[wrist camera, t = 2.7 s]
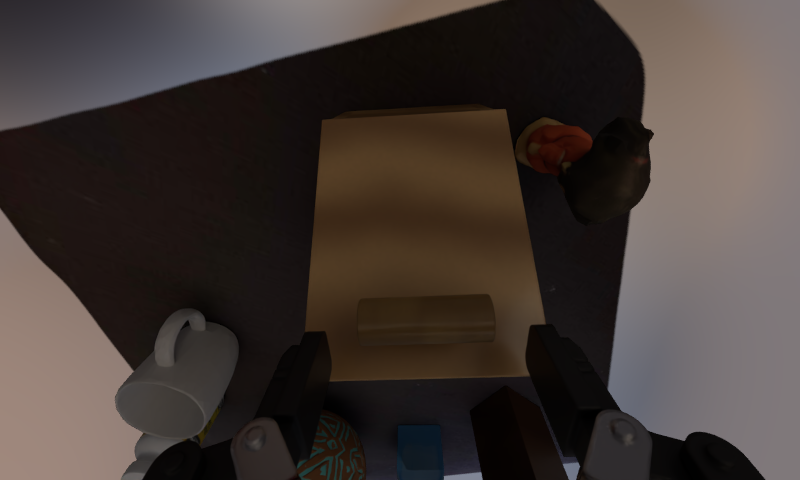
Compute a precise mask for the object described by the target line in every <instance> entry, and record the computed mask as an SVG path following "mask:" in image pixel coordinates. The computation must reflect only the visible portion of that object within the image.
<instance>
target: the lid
mask: <svg viewBox="0 0 800 480" xmlns="http://www.w3.org/2000/svg"><path fill="white" fill-rule="evenodd" d="M538 324H546V322H545V317H544V311H543V306H542V301H541V295H540V290H539V285H538V279H537V274H536V269H535V263H534V258H533V253H532V247H531V242H530V237H529V231H528V226H527V220H526V215H525V210H524V204H523V199H522V194H521V188H520V183H519V178H518V172H517V167H516V162H515V156H514V151H513V146H512V140H511V135H510V130H509V124H508V119H507V114H506V109H497V110H480V111H463V112H446V113H429V114H412V115H395V116H378V117H361V118H344V119H327V120H322V128H321V140H320V152H319V165H318V177H317V189H316V201H315V214H314V226H313V238H312V250H311V263H310V275H309V287H308V299H307V312H306V324H305V332H306V331H325V332H326V335H327V339H328V344H329V349H330V354H331V359H332V371H331V376H330V380H329V381H362V380H402V379H441V378H481V377H521V376H530V374H529V372H528V369H527V366H526V360H525V352H526V346H527V340H528V333H529V328H530V325H538Z"/></svg>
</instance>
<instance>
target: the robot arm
mask: <svg viewBox="0 0 800 480" xmlns="http://www.w3.org/2000/svg"><path fill="white" fill-rule="evenodd" d="M525 360H526V366H527V369H528V372H529V374H530V377H531V379H532V382H533V384H534V386H535V389H536V391H537V394H538V396H539V398H540V401H541V403H542V406H543V408H544V410H545V413H546V415H547V418H548V420H549V422H550V425H551V427H552V430H553V432H554V434H555V437H556V439H557V442H558V444H559V446H560V449H561V451H562V453H563V456H564V457H576V458H577V460H578V463H579V465H580V468H579V472H578V475H577V479H576V480H765V479H764V477H763V476H762V475H761V474H760V473H759V471H758V470H757V469H756V468H755V467H754V466H753V464H752V463H751V462H750V461H749V460H748V458H747V457H746V456H745V455H744V454H743V453H742V452H741V451H740V450H739V449H737V448H736V447H735V446H733V445H732V444H730V443H729V442H727V441H726V440H724V439H722V438H720V437H718V436H715V435H712V434H710V433H705V432H694V433H691V434H689V435H688V436H687V438H686V440H685V441H682V440H678V439H674V438H671V437H667V436H663V435H659V434H656V433H653V432H650V431H648V430H647V429H646V428H645V427H644V426H643V425H642V424H641V423H640V422H639V421H638V420H636V419H635V418H634V417H632V416H630V415H629V414H627V413H624V412H622V411H621V410H620V408H619V407H618V405H617V404H616V402H615V400H614V399H613V398H612V396H611V394H610V393H609V391H608V390H607V388H606V387H605V385H604V383H603V382H602V380H601V379H600V377H599V376H598V374H597V373H596V372H595V371H594V368H593V367H592V365H591V363H590V362H588V359H587V357H586V356H585V354H584V353H583V351H582V350H581V348H580V347H579V346H578V345H576V344H575V343H574V342H573V341H572V340H570V339H569V338H561V337H560V336H559V334H558V332H557V331H556V329H555V327H554V326H553V325H552V324H538V325H530V328H529V333H528V340H527V346H526V352H525ZM331 371H332V359H331V354H330V349H329V344H328V339H327V335H326V332H325V331H306V332H305V333H304V335H303V338H302V340H301V343H300V345H292V346H291V347H290V348H289V349H288V350H287V351H286V352H285V353H284V354H283V355H282V357H281V359H280V361H279V364H278V366H277V370H275V373H274V375H273V379H272V380H271V382H270V384H269V386H268V388H267V391H266V393H265V395H264V397H263V400H262V402H261V404H260V406H259V409H258V411H257V413H256V415H255V417H254V419H253V420H252V421H250V422H248V423H246V424H245V425H244V426H243V427H242V428H241V429H240V430H239V431H238V432H237V433H236V434H235V436H234V437H233V438H232V439H229V440H227V441H224V442H221V443H218V444H215V445H212V446H209V447H206V448H203V449H201V447H200V445H199V444H198V443H197V442H195V441H182V442H179V443H176V444H174V445H172V446H171V447H169V448H167V449H166V450H165V451H163V452H162V453H161V454H160V455H159V456H158V457H157V458H156V459H155V460H154V461H153V463H152V464H151V466H150V467H149V469H148V470H147V472H146V474H145V475H144V477H143V479H142V480H301V478H300V477H299V474H298V472H297V466H298V463H299V460H310V456H311V452H312V448H313V444H314V440H315V436H316V432H317V428H318V424H319V420H320V416H321V412H322V408H323V404H324V400H325V396H326V392H327V388H328V384H329V380H330V376H331Z"/></svg>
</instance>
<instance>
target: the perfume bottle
mask: <svg viewBox="0 0 800 480" xmlns="http://www.w3.org/2000/svg"><path fill="white" fill-rule="evenodd" d="M397 477H398V480H444V465H443V455H442V444H441V434H440V425H398V450H397Z"/></svg>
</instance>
